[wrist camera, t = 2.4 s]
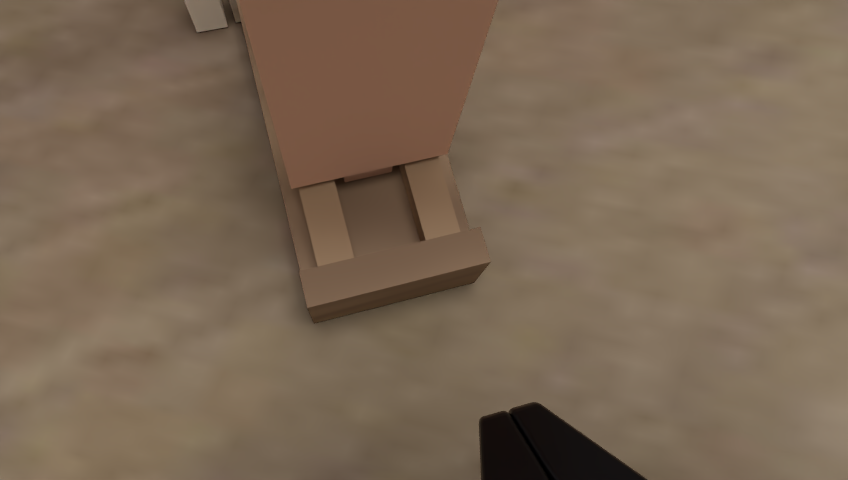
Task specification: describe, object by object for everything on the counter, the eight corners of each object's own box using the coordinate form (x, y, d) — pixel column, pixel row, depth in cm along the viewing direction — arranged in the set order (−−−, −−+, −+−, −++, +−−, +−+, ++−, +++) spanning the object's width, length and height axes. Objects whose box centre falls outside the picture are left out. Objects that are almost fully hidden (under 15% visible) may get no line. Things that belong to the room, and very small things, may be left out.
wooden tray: (480, 280, 21) (498, 259, 19) (306, 325, 20) (299, 310, 18) (355, -141, 25) (355, -210, 22) (203, -118, 24) (183, -186, 21)
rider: (443, 166, 20) (521, -70, 11) (294, 200, 19) (233, -20, 10) (407, 47, 21) (450, -270, 11) (264, 75, 20) (181, -237, 11)
